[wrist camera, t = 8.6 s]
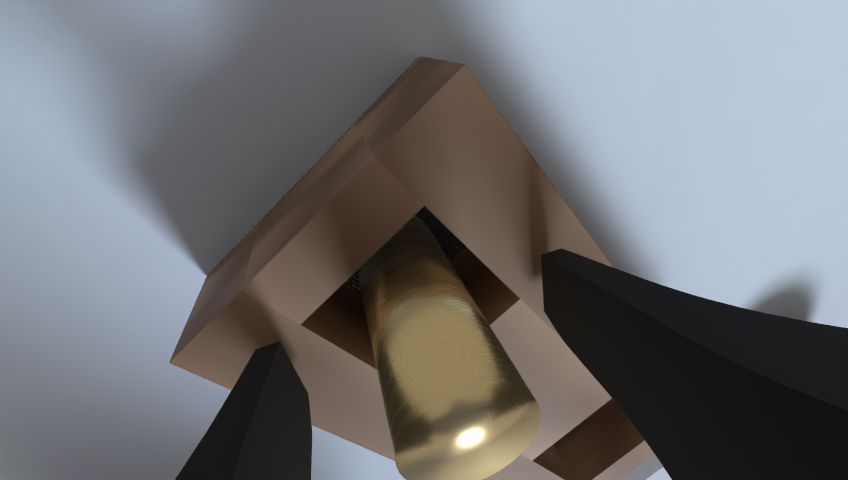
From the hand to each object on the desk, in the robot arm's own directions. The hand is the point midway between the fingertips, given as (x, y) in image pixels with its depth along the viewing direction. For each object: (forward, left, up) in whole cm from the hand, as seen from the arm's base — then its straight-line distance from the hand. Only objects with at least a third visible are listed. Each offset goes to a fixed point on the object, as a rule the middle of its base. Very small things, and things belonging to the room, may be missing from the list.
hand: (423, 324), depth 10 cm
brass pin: (0, 0, -5) cm, 5 cm away
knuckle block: (0, -6, -5) cm, 8 cm away
